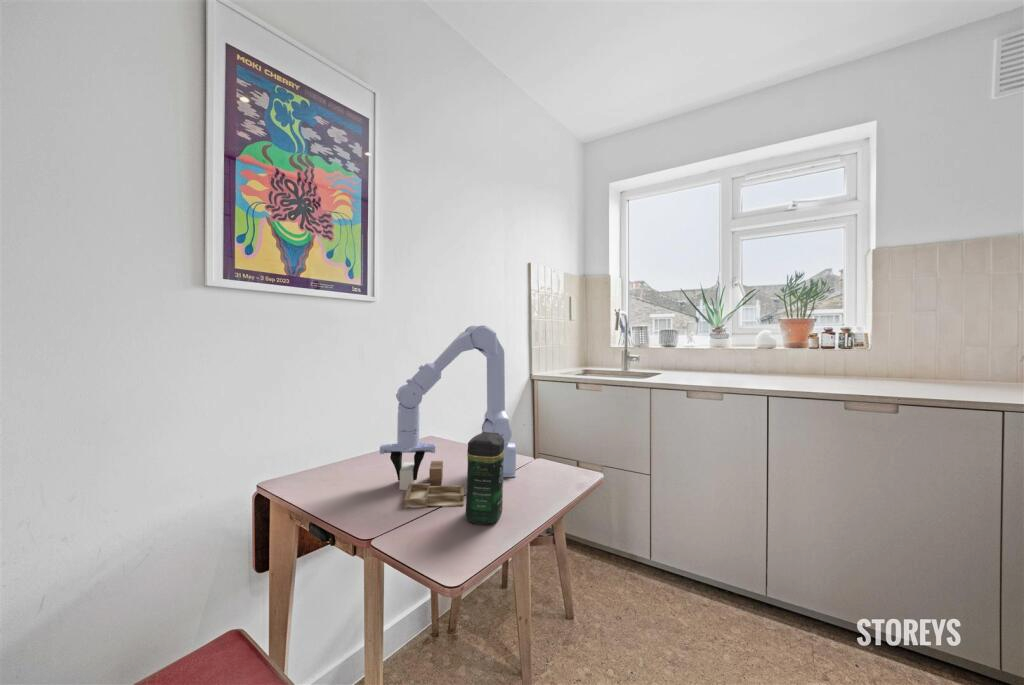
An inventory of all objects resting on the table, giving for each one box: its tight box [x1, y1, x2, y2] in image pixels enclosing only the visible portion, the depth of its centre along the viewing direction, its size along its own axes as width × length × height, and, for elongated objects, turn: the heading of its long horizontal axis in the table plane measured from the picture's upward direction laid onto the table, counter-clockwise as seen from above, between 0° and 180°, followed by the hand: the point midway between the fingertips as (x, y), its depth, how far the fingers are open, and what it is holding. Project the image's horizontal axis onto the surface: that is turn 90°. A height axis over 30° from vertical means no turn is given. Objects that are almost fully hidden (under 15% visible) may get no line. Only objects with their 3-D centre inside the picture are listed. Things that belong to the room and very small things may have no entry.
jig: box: [402, 482, 465, 508], centre depth 99 cm, size 14×10×2 cm
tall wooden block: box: [428, 460, 444, 486], centre depth 110 cm, size 7×3×5 cm, turn 7°
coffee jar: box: [465, 431, 504, 525], centre depth 90 cm, size 10×8×19 cm
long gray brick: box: [398, 461, 416, 491], centre depth 107 cm, size 3×7×5 cm, turn 7°
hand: (407, 479), depth 107 cm, fingers open, 3 cm apart
